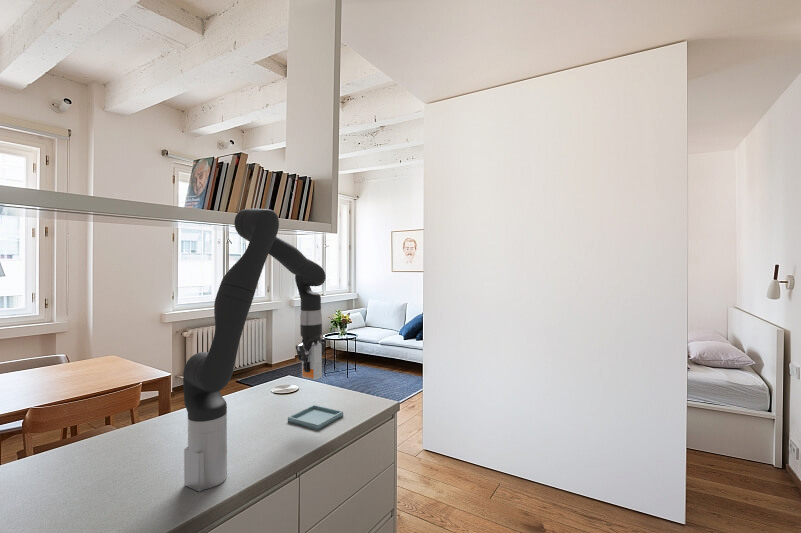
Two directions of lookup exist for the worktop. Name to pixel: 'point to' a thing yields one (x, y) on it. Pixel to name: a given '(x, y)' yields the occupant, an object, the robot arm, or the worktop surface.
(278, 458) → the worktop surface
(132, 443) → the worktop surface
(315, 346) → the skincare box
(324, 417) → the tray
